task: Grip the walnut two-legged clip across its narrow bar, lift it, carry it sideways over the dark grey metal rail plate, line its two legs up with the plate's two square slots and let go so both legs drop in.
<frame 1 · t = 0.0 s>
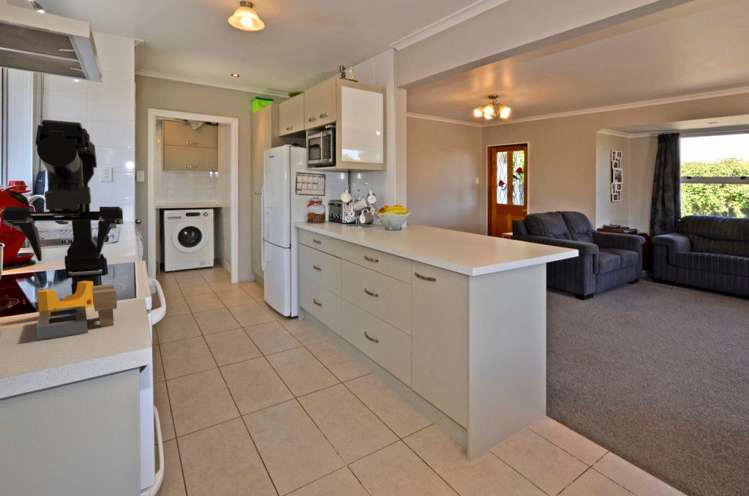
hand: (69, 259, 79), 15 cm above the counter, tool pointing down, fingers open, 9 cm apart
rail plate: (64, 327, 86), on the counter
pipe clamp: (65, 312, 98), on the counter
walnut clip: (106, 321, 91), on the counter
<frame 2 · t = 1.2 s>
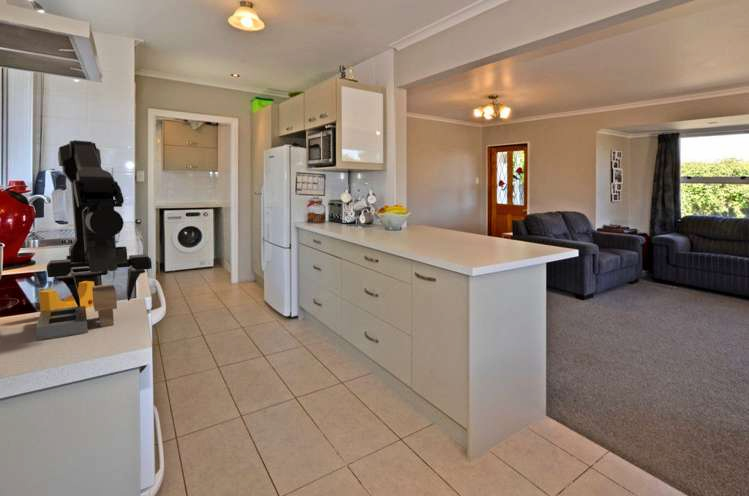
hand: (104, 303, 90), 4 cm above the counter, tool pointing down, fingers open, 9 cm apart
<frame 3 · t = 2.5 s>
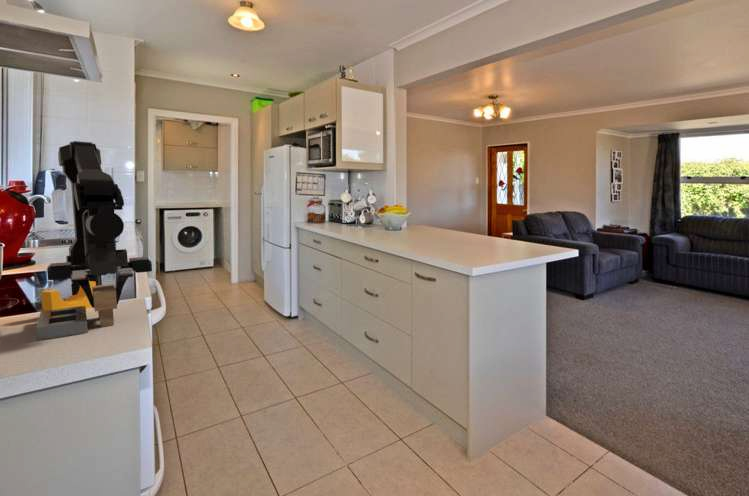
hand: (104, 305, 90), 4 cm above the counter, tool pointing down, fingers closed on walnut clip, 4 cm apart
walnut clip: (106, 321, 91), on the counter, touching gripper
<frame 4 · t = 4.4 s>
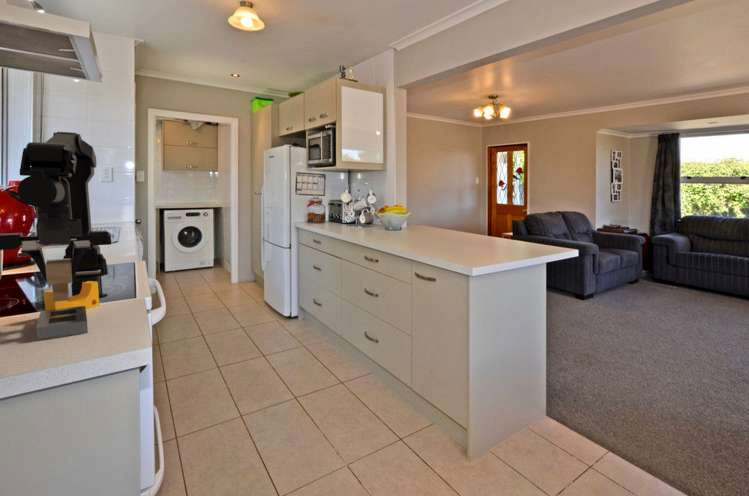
hand: (60, 280, 85), 10 cm above the counter, tool pointing down, fingers closed on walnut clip, 4 cm apart
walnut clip: (61, 296, 85), point 7 cm above the counter, touching gripper
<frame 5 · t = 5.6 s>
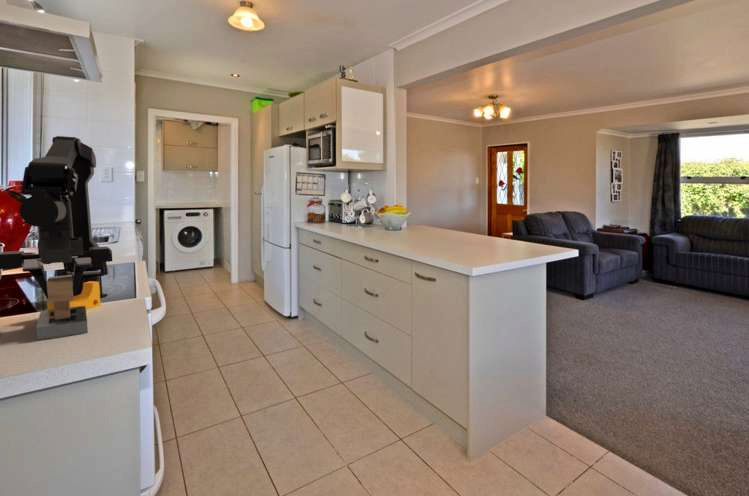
hand: (61, 297, 85), 6 cm above the counter, tool pointing down, fingers closed on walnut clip, 4 cm apart
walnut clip: (62, 313, 86), point 3 cm above the counter, touching gripper
when the fingers open (6 cm above the counter, at t = 6.4 s): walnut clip drops 3 cm, resting in rail plate.
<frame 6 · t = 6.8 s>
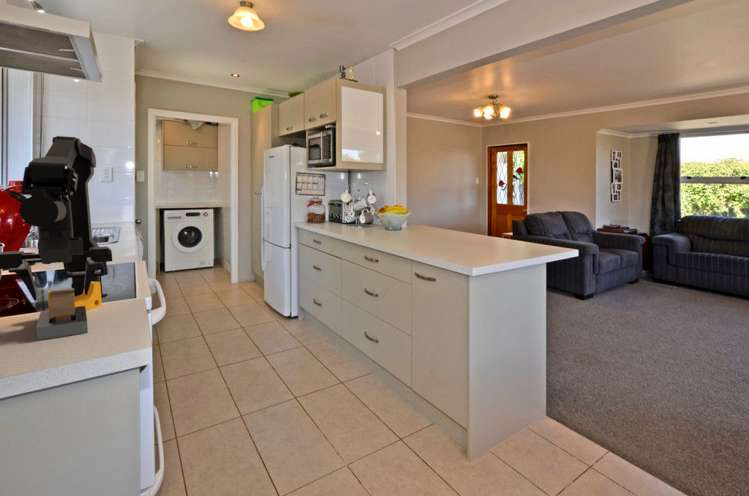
hand: (61, 297, 85), 6 cm above the counter, tool pointing down, fingers open, 8 cm apart
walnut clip: (64, 327, 86), resting in rail plate
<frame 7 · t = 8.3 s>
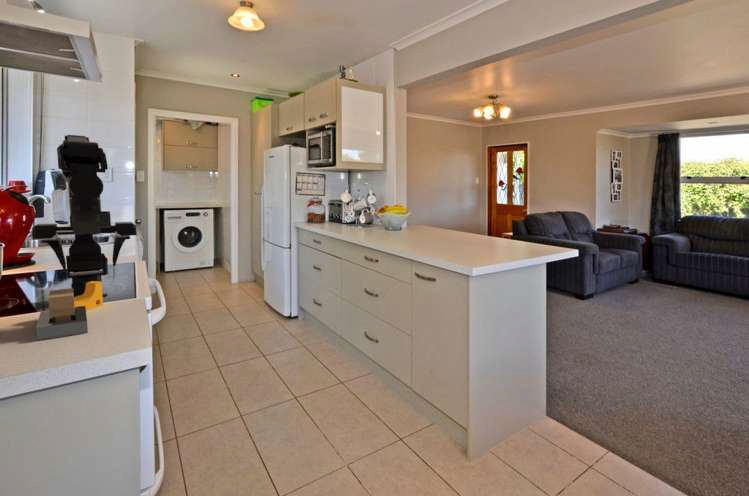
hand: (90, 267, 92), 12 cm above the counter, tool pointing down, fingers open, 9 cm apart
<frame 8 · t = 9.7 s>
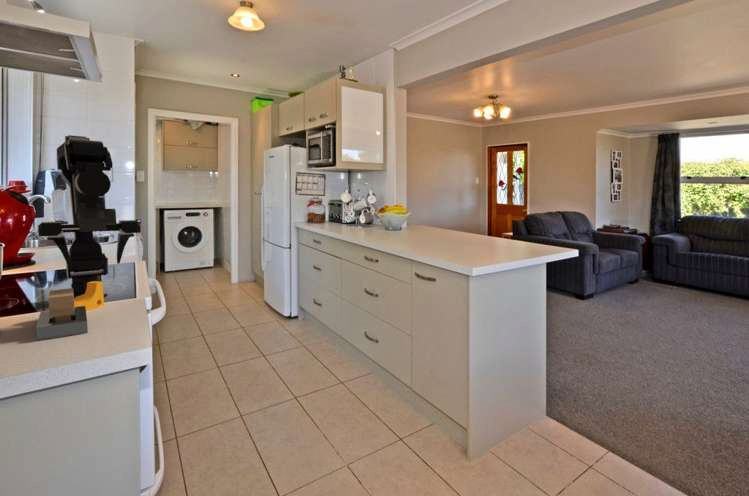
hand: (94, 265, 93), 12 cm above the counter, tool pointing down, fingers open, 9 cm apart
at the end: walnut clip 0.0 cm off-centre on the rail plate, point 0.0 cm above the rail plate's base; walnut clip tilted 0°; the gripper is holding nothing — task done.
